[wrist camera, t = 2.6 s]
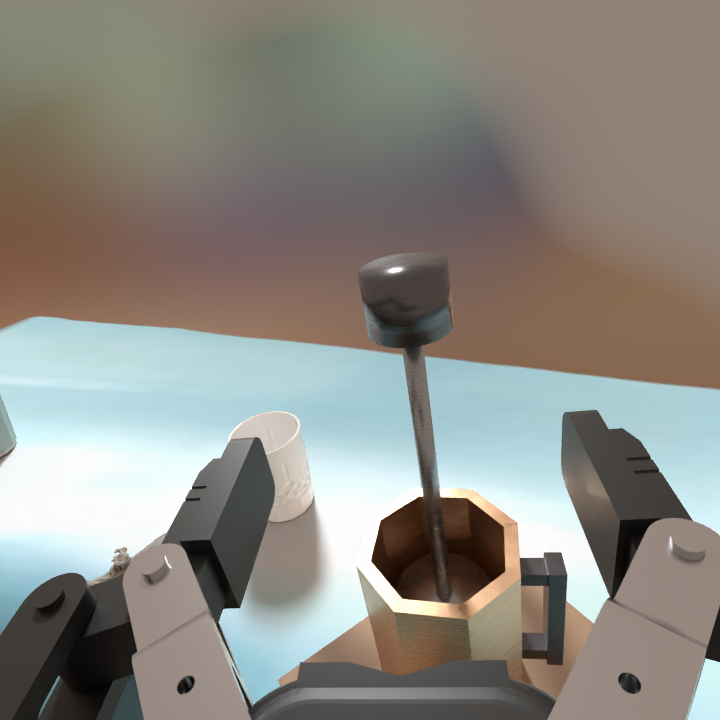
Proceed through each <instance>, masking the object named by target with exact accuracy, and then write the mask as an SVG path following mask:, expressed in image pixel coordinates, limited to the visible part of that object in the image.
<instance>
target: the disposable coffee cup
mask: <svg viewBox="0 0 720 720" xmlns="http://www.w3.org/2000/svg"><path fill="white" fill-rule="evenodd" d="M15 445H16V435H15V433H14V430H13V427H12V425H11V422H10V419H9V417H8V414H7V411H6V409H5V406H4V403H3V401H2V398H1V395H0V457H2V456H3V455H5V454H7V453H8V452H9V451H10V450H12V449H13V448H14V447H15Z"/></svg>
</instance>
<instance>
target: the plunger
mask: <svg viewBox="0 0 720 720" xmlns="http://www.w3.org/2000/svg"><path fill="white" fill-rule="evenodd" d="M358 279H359V285H360V290H361V295H362V301H363V308H364V313H365V319H366V324H367V330H368V336H369V338H370V340H372V341H373V342H374V343H376V344H378V345H381V346H385V347H391V348H402V349H403V357H404V364H405V372H406V379H407V386H408V393H409V400H410V407H411V415H412V422H413V429H414V436H415V443H416V451H417V458H418V465H419V472H420V479H421V487H422V494H423V501H424V508H425V515H426V522H427V530H428V537H429V544H430V551H431V554H430V555H427V556H424V557H422V558H420V559H418V560H416V561H414V562H413V563H412V564H410V565H409V566H408V567H407V568H406V569H405V571H404V572H403V573H402V575H401V576H400V578H399V580H398V583H397V587H396V592H397V593H398V595H399V596H400V597H401V598H402V599H408V600H418V601H428V602H438V603H449V604H459V605H462V604H464V603H465V602H466V601H468V600H469V599H470V598H472V597H473V596H474V595H476V594H477V593H478V592H479V591H481V590H482V589H483V588H485V587H486V586H487V585H489V584H490V583H491V580H490V578H489V576H488V575H487V574H486V572H485V571H484V570H483V569H482V568H481V567H480V566H479V565H478V564H476V563H475V562H473V561H472V560H470V559H468V558H466V557H463V556H460V555H457V554H452V553H447V547H446V538H445V530H444V521H443V512H442V504H441V495H440V487H439V478H438V470H437V461H436V452H435V444H434V435H433V427H432V418H431V409H430V401H429V392H428V384H427V375H426V367H425V358H424V349H423V345H426V344H429V343H432V342H435V341H437V340H439V339H441V338H443V337H444V336H446V335H447V334H448V333H449V332H450V331H451V330H452V328H453V315H452V302H451V289H450V278H449V265H448V259H447V258H446V257H444V256H442V255H440V254H436V253H429V252H412V253H402V254H396V255H391V256H387V257H383V258H380V259H377V260H374V261H372V262H370V263H368V264H366V265H365V266H363V267H362V268H360V270H359V271H358Z"/></svg>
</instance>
